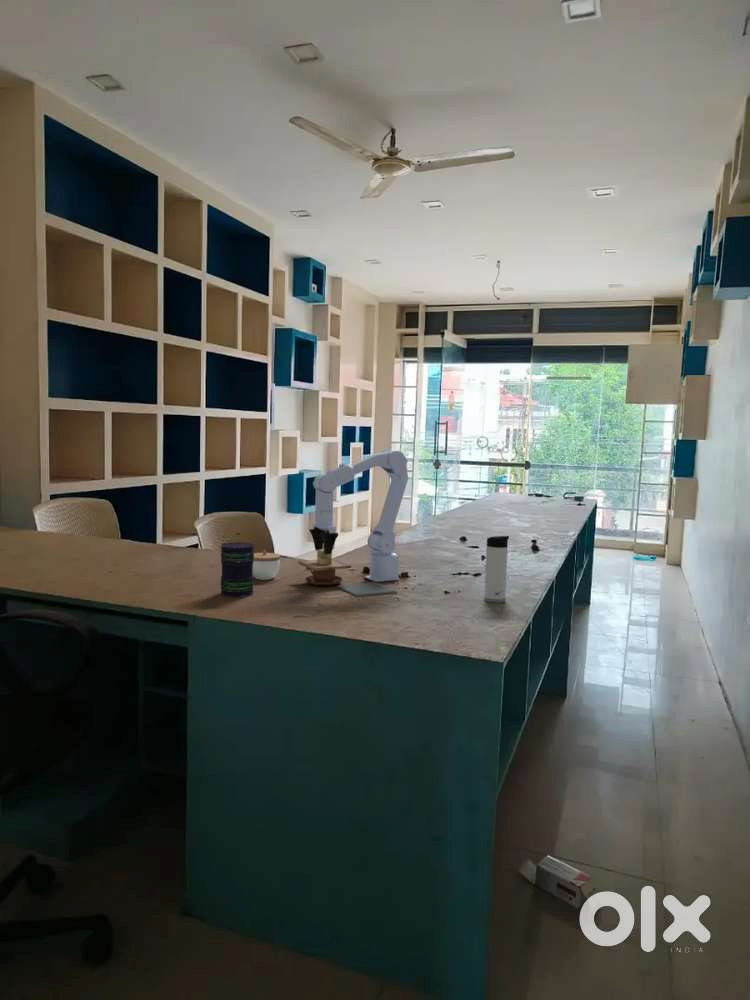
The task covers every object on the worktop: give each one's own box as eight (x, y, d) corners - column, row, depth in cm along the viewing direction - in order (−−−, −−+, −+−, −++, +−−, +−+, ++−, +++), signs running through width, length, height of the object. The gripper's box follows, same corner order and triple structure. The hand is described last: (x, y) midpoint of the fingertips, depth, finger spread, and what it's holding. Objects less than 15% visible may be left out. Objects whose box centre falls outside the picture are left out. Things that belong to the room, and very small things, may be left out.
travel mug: (501, 604, 203) (504, 537, 201) (480, 600, 207) (483, 535, 205) (509, 600, 208) (512, 535, 207) (489, 597, 212) (491, 533, 210)
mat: (375, 583, 226) (375, 582, 226) (396, 592, 214) (396, 591, 214) (337, 587, 220) (337, 585, 220) (356, 596, 208) (356, 594, 208)
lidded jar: (273, 582, 225) (274, 554, 224) (242, 579, 227) (243, 552, 226) (284, 575, 235) (284, 548, 235) (254, 573, 238) (255, 547, 237)
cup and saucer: (299, 585, 222) (299, 567, 221) (315, 579, 233) (315, 561, 232) (333, 589, 217) (333, 570, 217) (347, 582, 228) (348, 564, 228)
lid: (333, 560, 233) (334, 545, 233) (350, 568, 222) (351, 552, 221) (298, 563, 227) (298, 547, 227) (313, 570, 216) (314, 554, 215)
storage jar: (253, 597, 203) (254, 537, 202) (219, 597, 202) (220, 537, 200) (253, 589, 213) (254, 532, 212) (221, 590, 212) (221, 532, 210)
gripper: (304, 508, 227) (303, 549, 229) (321, 513, 215) (320, 556, 216) (323, 508, 231) (322, 548, 232) (342, 513, 218) (341, 555, 219)
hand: (323, 552), depth 224 cm, fingers open, 7 cm apart
